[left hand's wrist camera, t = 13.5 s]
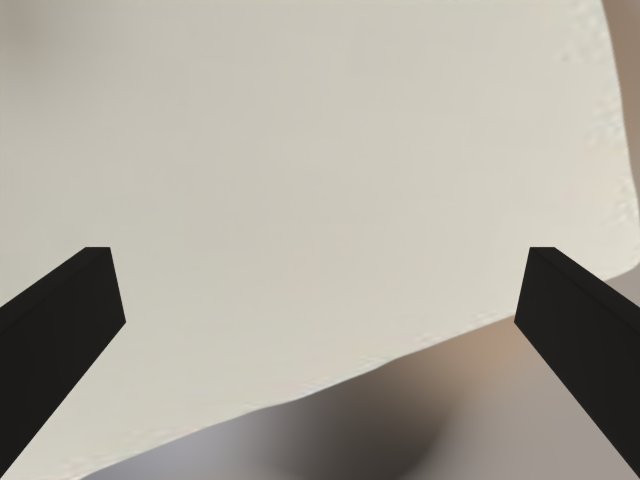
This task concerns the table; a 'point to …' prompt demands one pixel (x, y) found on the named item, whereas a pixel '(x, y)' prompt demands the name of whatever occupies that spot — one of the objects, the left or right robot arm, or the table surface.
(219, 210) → the table surface
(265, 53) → the table surface
